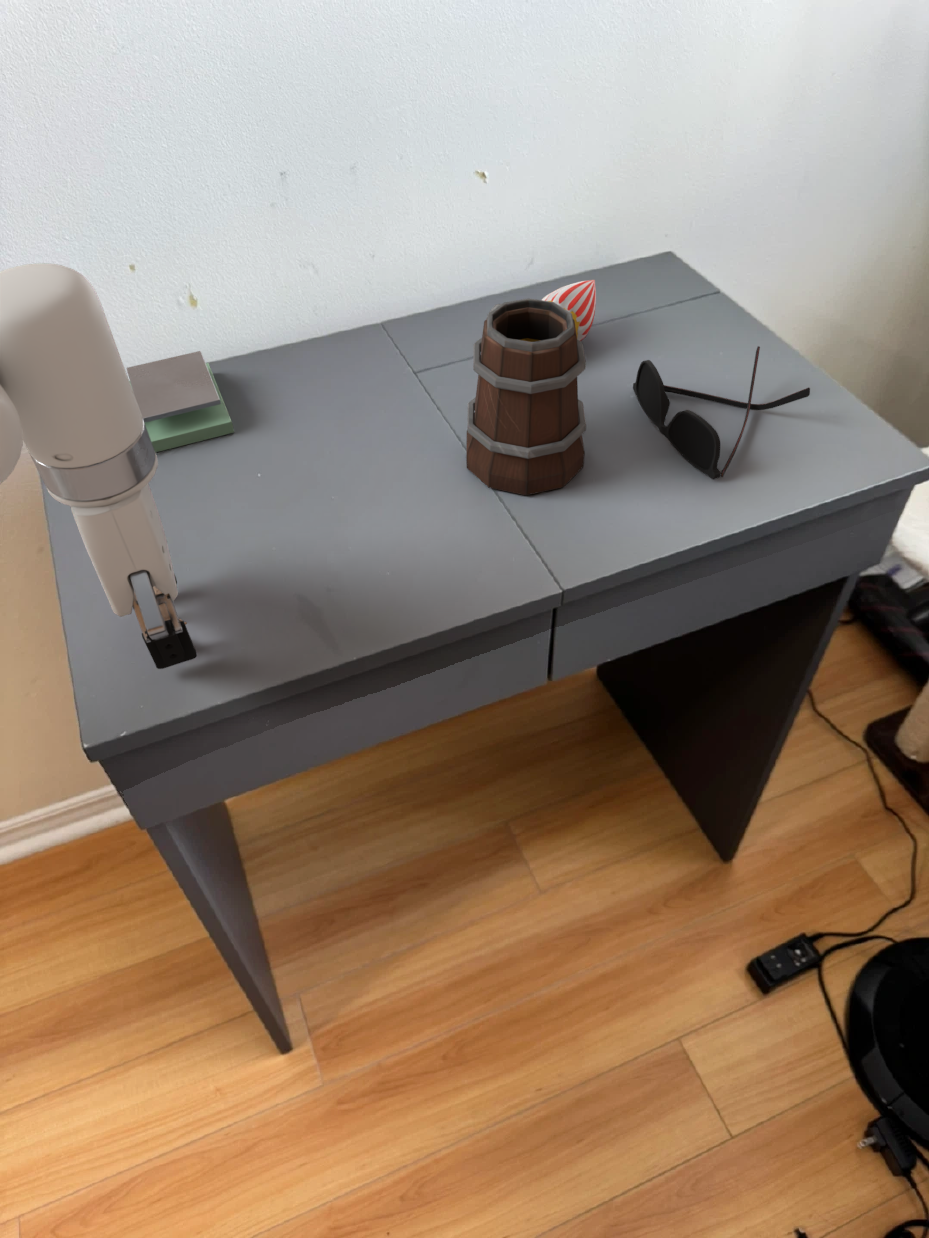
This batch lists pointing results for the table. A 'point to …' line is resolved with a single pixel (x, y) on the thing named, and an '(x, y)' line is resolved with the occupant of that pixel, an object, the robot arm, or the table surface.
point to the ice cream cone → (577, 304)
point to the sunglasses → (694, 417)
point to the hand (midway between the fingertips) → (167, 622)
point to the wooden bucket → (526, 399)
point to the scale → (190, 425)
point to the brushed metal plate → (172, 386)
